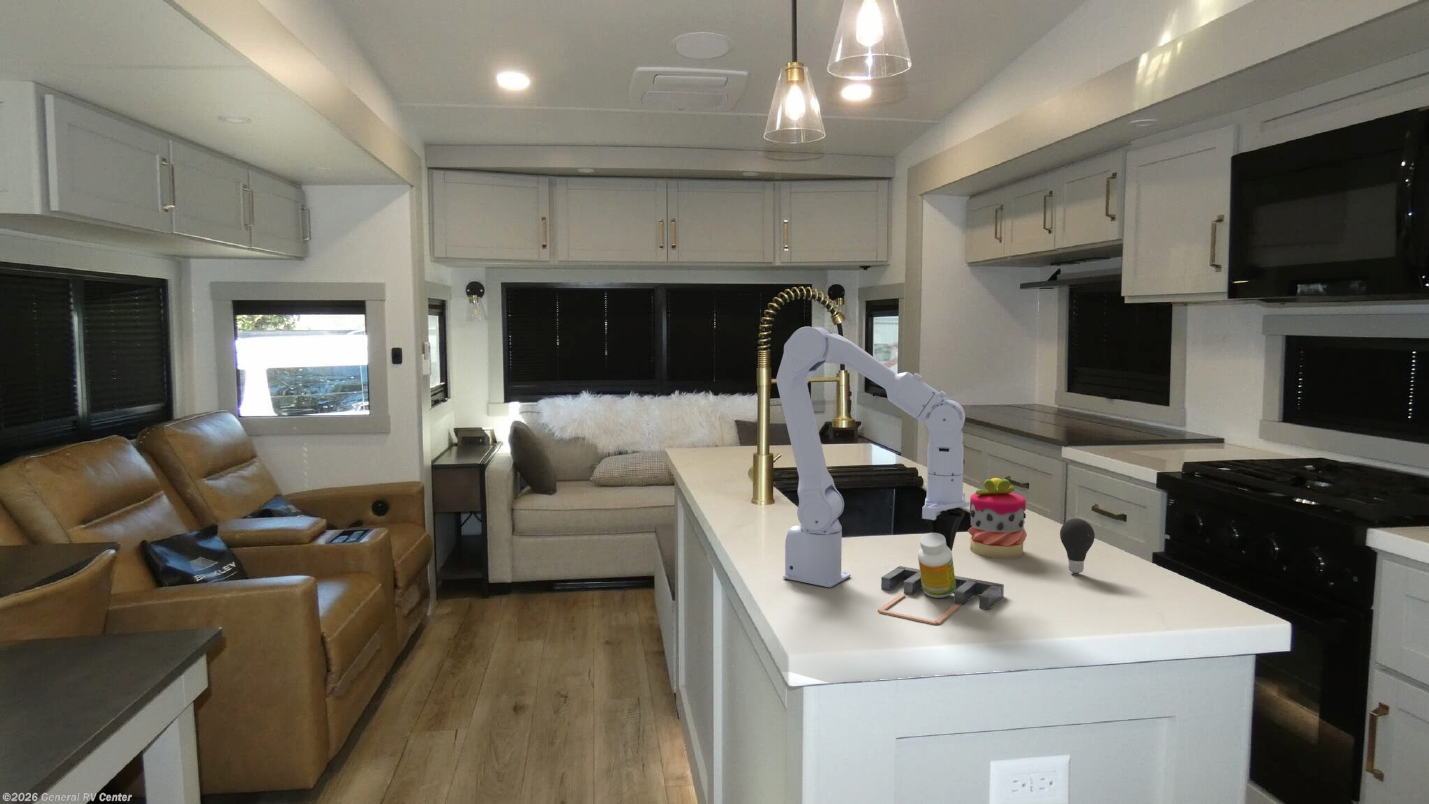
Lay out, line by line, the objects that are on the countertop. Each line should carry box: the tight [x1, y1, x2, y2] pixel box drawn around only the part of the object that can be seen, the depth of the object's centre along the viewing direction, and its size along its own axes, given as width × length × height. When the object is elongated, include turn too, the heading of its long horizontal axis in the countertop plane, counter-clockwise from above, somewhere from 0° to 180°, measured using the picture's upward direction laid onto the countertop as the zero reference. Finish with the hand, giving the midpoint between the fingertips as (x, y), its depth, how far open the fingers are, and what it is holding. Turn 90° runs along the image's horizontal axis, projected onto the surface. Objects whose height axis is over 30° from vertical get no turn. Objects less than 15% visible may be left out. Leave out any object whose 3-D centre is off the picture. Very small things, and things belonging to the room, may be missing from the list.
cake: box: [967, 477, 1028, 559], centre depth 158 cm, size 10×11×15 cm
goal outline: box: [877, 593, 961, 626], centre depth 126 cm, size 10×9×1 cm
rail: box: [880, 565, 1005, 611], centre depth 134 cm, size 18×8×2 cm, turn 54°
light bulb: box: [1059, 518, 1096, 576], centre depth 143 cm, size 6×6×10 cm
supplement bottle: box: [917, 532, 956, 599], centre depth 132 cm, size 5×5×10 cm
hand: (943, 553), depth 134 cm, fingers closed
